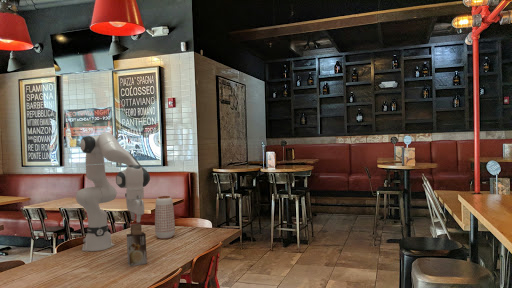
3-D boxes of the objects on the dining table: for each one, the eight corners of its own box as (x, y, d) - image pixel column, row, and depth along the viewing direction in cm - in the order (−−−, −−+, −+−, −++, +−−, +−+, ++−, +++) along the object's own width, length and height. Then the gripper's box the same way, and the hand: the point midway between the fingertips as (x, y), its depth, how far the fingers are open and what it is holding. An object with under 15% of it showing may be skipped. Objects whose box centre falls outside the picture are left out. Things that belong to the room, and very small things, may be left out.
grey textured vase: (179, 236, 257) (177, 196, 257) (164, 240, 246) (163, 198, 246) (165, 234, 264) (164, 195, 265) (151, 238, 253) (149, 197, 253)
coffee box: (144, 260, 204) (143, 231, 204) (147, 263, 198) (146, 233, 198) (127, 263, 199) (126, 233, 199) (129, 266, 194) (128, 236, 194)
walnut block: (130, 233, 199) (130, 224, 199) (139, 232, 202) (138, 223, 202) (133, 235, 196) (132, 226, 196) (141, 234, 198) (141, 224, 198)
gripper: (147, 196, 192) (147, 223, 192) (135, 192, 209) (136, 217, 209) (134, 197, 188) (135, 224, 189) (124, 193, 205) (124, 218, 205)
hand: (135, 220), depth 199 cm, fingers open, 8 cm apart
